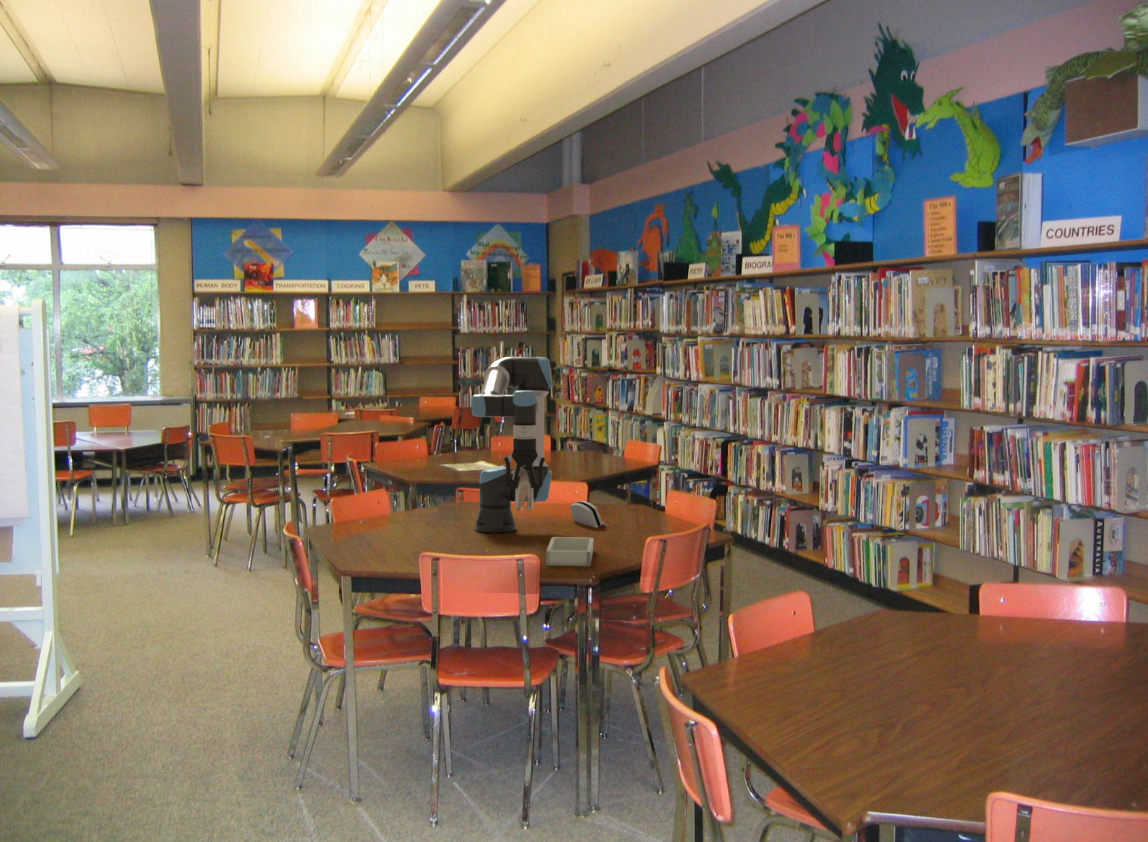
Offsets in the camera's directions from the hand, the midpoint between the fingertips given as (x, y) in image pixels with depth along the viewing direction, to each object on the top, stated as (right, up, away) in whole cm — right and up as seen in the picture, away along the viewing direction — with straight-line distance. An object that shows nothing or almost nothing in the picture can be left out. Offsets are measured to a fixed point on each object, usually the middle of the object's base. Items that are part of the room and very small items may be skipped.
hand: (524, 508), depth 320 cm
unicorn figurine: (-3, -1, 0) cm, 3 cm away
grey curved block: (+21, -11, +54) cm, 59 cm away
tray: (+15, -16, -3) cm, 22 cm away
